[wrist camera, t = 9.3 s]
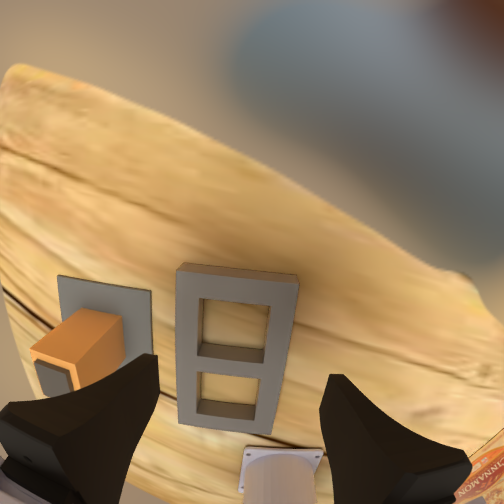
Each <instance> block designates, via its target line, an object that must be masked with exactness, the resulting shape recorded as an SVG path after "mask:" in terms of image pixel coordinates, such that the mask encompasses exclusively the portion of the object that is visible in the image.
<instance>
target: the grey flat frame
mask: <svg viewBox="0 0 504 504" xmlns="http://www.w3.org/2000/svg"><path fill="white" fill-rule="evenodd" d="M298 290H299V282H298V279H297V276H296V275H291V274H282V273H272V272H262V271H253V270H244V269H235V268H226V267H217V266H208V265H199V264H190V263H183V264H182V265H181V266H180V267H179V268H178V269H177V270H176V304H175V347H176V386H177V407H178V423H179V424H184V425H190V426H196V427H202V428H209V429H216V430H223V431H232V432H241V433H252V434H265V435H271V432H272V428H273V423H274V419H275V414H276V409H277V405H278V400H279V395H280V390H281V385H282V380H283V375H284V370H285V365H286V359H287V354H288V349H289V343H290V337H291V332H292V326H293V320H294V314H295V308H296V302H297V296H298ZM204 299H212V300H220V301H229V302H237V303H246V304H256V305H265V306H269V312H268V319H267V327H266V334H265V341H264V348H263V350H260V349H250V348H241V347H232V346H224V345H216V344H208V343H202V324H203V303H204ZM201 372H206V373H213V374H221V375H229V376H237V377H247V378H257V379H259V383H258V389H257V396H256V402H255V406H254V405H244V404H234V403H226V402H218V401H211V400H204V399H200V396H201Z"/></svg>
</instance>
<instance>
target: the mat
mask: <svg viewBox="0 0 504 504" xmlns="http://www.w3.org/2000/svg"><path fill="white" fill-rule="evenodd" d="M57 282H58V292H59V300H60V308H61V315H62V322H63V321H65V320H66V319H67V318H69V317H70V316H71V315H72V314H74V313H75V312H76V311H78V310H79V309H80V308H86V309H91V310H95V311H100V312H105V313H110V314H115V315H120V316H122V323H123V335H124V345H125V355H126V358H125V359H124V360H123V362H122V363H121V365H120V366H119V367H118V369H120V368H121V367H123V366H125V365H126V364H128V363H129V362H131V361H132V360H134V359H135V358H137V357H138V356H140V355H142V354H143V353H147V354H152V355H153V340H152V313H151V291H149V290H142V289H136V288H130V287H123V286H117V285H111V284H105V283H100V282H94V281H88V280H83V279H77V278H72V277H67V276H62V275H58V276H57ZM118 369H117V370H118ZM117 370H116V371H117Z"/></svg>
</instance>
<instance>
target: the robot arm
mask: <svg viewBox="0 0 504 504" xmlns="http://www.w3.org/2000/svg"><path fill="white" fill-rule="evenodd" d="M159 394H160V384H159V370H158V356H157V355H152V354H147V353H143V354H142V355H140V356H138V357H137V358H135V359H134V360H132V361H131V362H129V363H128V364H126V365H125V366H123V367H121V368H120V369H118V370H117V371H115V372H113V373H112V374H110V375H108V376H106V377H104V378H102V379H100V380H99V381H97V382H95V383H93V384H90V385H88V386H86V387H83V388H81V389H78V390H76V391H73V392H69V393H66V394H63V395H59V396H55V397H51V398H46V399H40V400H32V401H18V402H9V403H8V404H7V405H6V406H5V407H4V408H3V409H2V410H1V411H0V442H1V444H2V446H3V448H4V449H5V451H6V453H7V454H8V457H7V458H6V460H4V459H3V458H2V457H1V456H0V504H119V500H120V496H121V492H122V488H123V485H124V481H125V478H126V475H127V471H128V468H129V465H130V462H131V459H132V456H133V453H134V451H135V449H136V446H137V444H138V442H139V440H140V438H141V436H142V434H143V432H144V430H145V428H146V426H147V424H148V422H149V420H150V418H151V416H152V414H153V412H154V409H155V407H156V404H157V400H158V397H159ZM319 413H320V424H321V431H322V435H323V439H324V443H325V447H326V451H327V455H328V460H329V464H330V468H331V473H332V481H333V491H334V504H453V503H454V502H455V501H456V498H455V495H454V493H455V492H456V491H457V490H458V489H459V487H460V486H461V485H462V484H463V483H464V482H465V481H466V479H467V478H468V477H469V475H470V473H471V471H472V468H473V467H472V463H471V462H470V460H469V458H468V457H467V455H466V453H465V452H464V450H461V449H457V448H453V447H450V446H446V445H443V444H440V443H437V442H435V441H432V440H429V439H427V438H425V437H423V436H421V435H419V434H417V433H415V432H413V431H411V430H409V429H407V428H406V427H404V426H402V425H401V424H399V423H398V422H396V421H395V420H393V419H392V418H391V417H389V416H388V415H387V414H385V413H384V412H383V411H382V410H380V409H379V408H378V407H377V406H376V405H375V404H373V403H372V402H371V401H370V400H369V399H368V398H367V397H366V396H365V395H364V394H363V393H362V392H361V391H360V390H359V389H358V388H357V387H356V386H355V385H354V384H353V383H352V382H351V381H350V380H349V379H348V378H347V377H346V376H345V375H344V374H329V378H328V381H327V385H326V388H325V392H324V395H323V398H322V402H321V405H320V408H319ZM322 456H323V450H322V449H281V448H262V447H245V448H244V453H243V460H242V467H241V473H240V479H239V486H238V492H240V493H243V504H318V503H317V496H316V489H315V482H314V474H315V471H316V469H317V467H318V465H319V462H320V460H321V458H322ZM464 504H487V503H486V501H485V499H484V498H483V496H480V497H478V498H476V499H473V500H471V501H469V502H466V503H464Z"/></svg>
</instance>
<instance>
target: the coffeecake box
mask: <svg viewBox="0 0 504 504" xmlns="http://www.w3.org/2000/svg"><path fill="white" fill-rule="evenodd" d="M469 460H470V462H471V463H472V467H473V468H472V471H471V473H470V475H469V477H468V478H467V479H466V481H465V482H464V483H463V484H462V485H461V486H460V487H459V489H458V490H457V491H456V492H455V493H454V495H455V498H456V501H455V502H454V503H453V504H464V503H466V502H469V501H471V500H473V499H476V498H478V497H480V496H483V498H484V499H485V501H486V503H487V504H504V429H503V430H501V431H500V432H499V433H498V434H497V435H496V436H495V437H494V438H493V439H491V440H490V441H489V442H488V443H487V444H486V445H484V446H483V447H482V448H481V449H479V450H478V451H477V452H476V453H475V454H473V455H472V456H471V457H469Z"/></svg>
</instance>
